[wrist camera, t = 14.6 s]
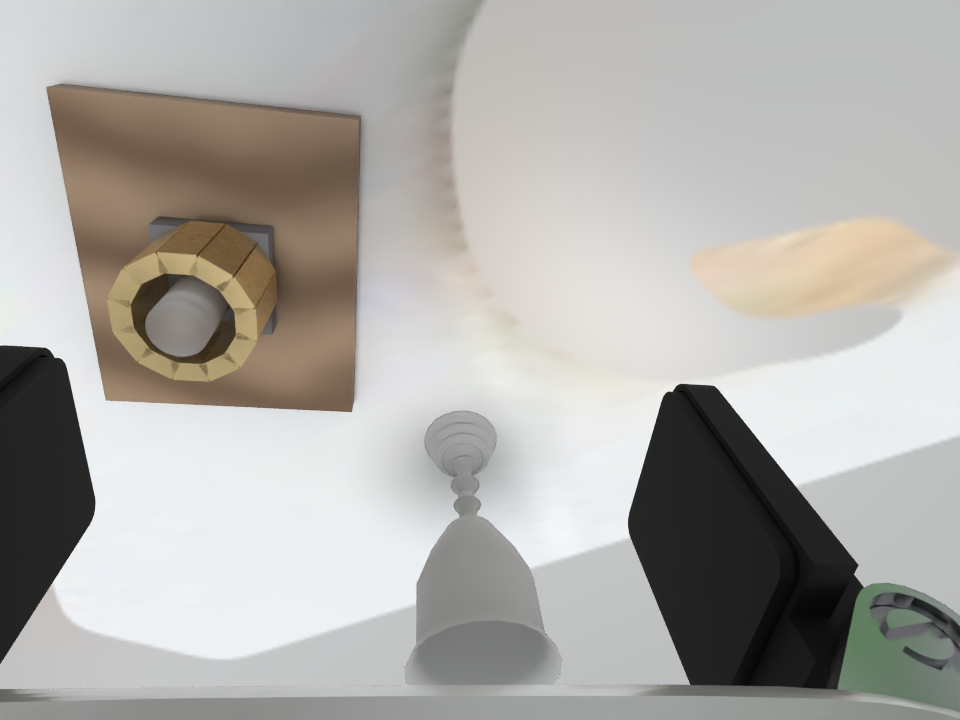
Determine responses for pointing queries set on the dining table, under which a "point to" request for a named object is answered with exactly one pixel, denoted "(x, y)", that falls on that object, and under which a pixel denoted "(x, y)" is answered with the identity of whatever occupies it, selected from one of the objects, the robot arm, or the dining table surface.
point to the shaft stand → (234, 201)
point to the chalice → (476, 583)
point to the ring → (218, 263)
